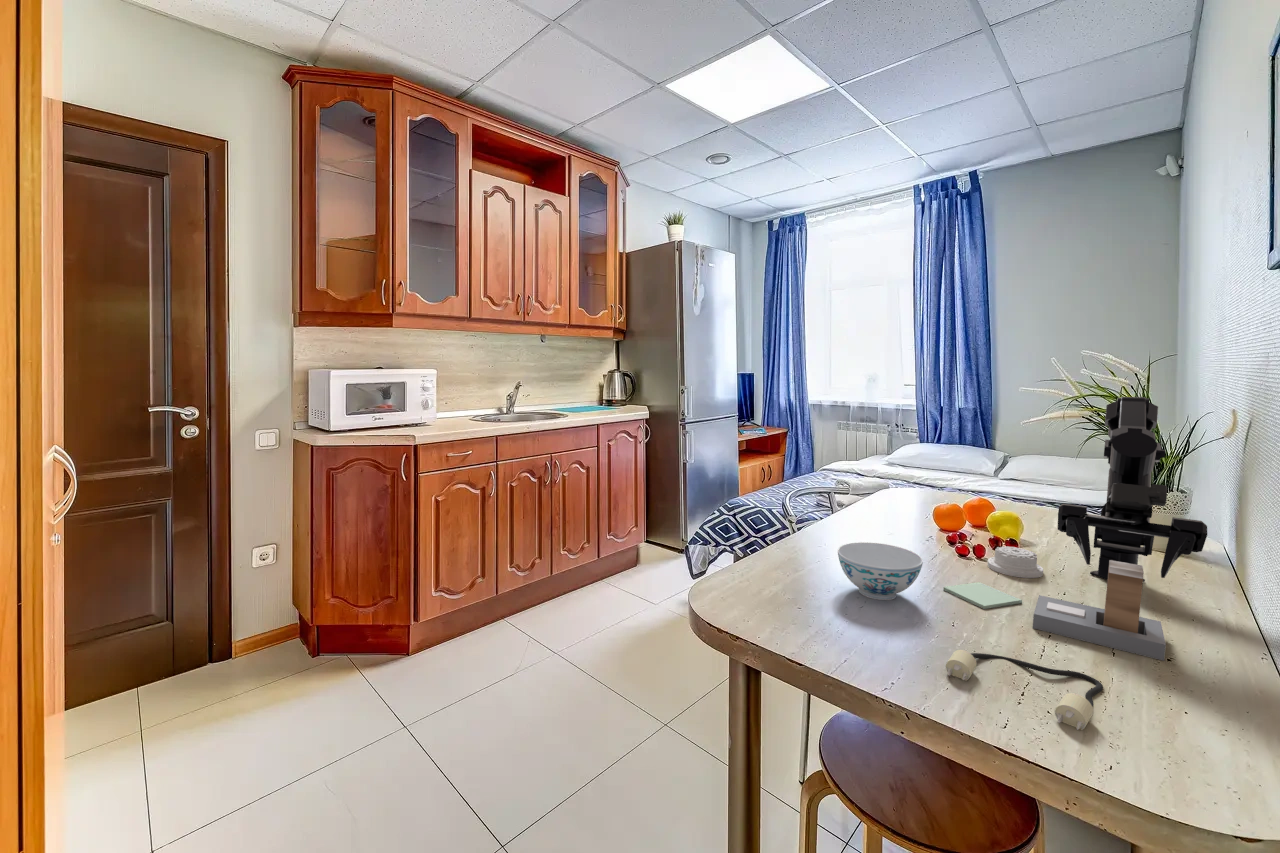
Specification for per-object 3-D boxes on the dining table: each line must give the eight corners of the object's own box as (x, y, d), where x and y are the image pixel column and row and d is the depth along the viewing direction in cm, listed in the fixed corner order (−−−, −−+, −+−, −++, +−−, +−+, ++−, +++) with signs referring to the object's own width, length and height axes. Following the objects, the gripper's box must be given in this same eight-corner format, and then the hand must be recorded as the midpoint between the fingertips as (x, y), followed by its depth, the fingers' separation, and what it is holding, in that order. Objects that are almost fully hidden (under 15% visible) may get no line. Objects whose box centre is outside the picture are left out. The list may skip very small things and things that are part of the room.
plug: (1102, 629, 91) (1109, 559, 90) (1135, 637, 89) (1142, 565, 87) (1102, 638, 88) (1109, 566, 87) (1136, 646, 86) (1143, 572, 84)
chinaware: (931, 592, 106) (933, 553, 105) (905, 617, 95) (907, 575, 95) (854, 572, 116) (855, 537, 116) (823, 593, 106) (824, 555, 105)
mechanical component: (999, 577, 115) (1052, 581, 113) (1000, 557, 114) (1054, 560, 112) (979, 561, 124) (1028, 564, 122) (980, 542, 124) (1030, 545, 122)
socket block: (1038, 608, 99) (1039, 593, 99) (1159, 636, 89) (1160, 619, 89) (1032, 628, 92) (1033, 611, 91) (1164, 660, 81) (1166, 642, 81)
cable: (982, 644, 87) (984, 623, 87) (1115, 692, 74) (1118, 668, 74) (938, 678, 78) (940, 654, 77) (1082, 739, 65) (1085, 712, 64)
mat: (979, 584, 110) (979, 581, 110) (1021, 603, 101) (1021, 599, 101) (943, 589, 107) (943, 587, 107) (984, 609, 99) (984, 605, 99)
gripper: (1063, 459, 98) (1053, 532, 91) (1212, 471, 86) (1215, 557, 79) (1062, 495, 105) (1053, 566, 98) (1200, 511, 93) (1202, 593, 86)
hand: (1124, 569), depth 90 cm, fingers open, 9 cm apart
